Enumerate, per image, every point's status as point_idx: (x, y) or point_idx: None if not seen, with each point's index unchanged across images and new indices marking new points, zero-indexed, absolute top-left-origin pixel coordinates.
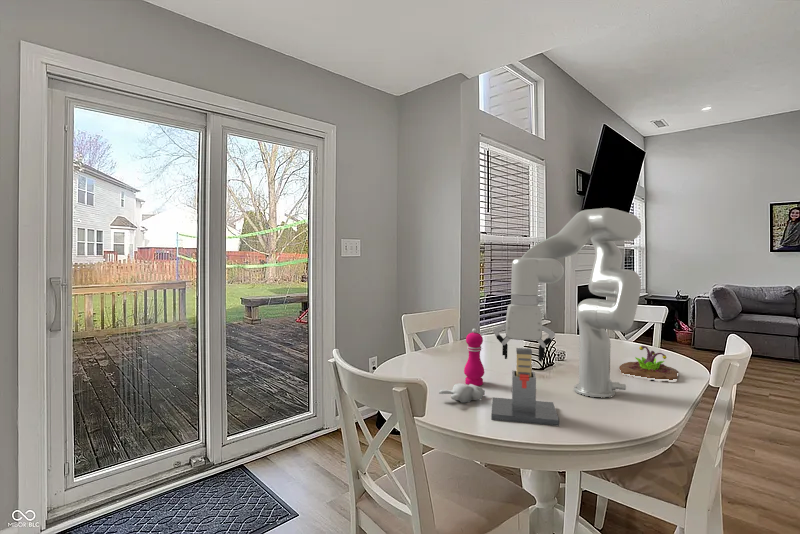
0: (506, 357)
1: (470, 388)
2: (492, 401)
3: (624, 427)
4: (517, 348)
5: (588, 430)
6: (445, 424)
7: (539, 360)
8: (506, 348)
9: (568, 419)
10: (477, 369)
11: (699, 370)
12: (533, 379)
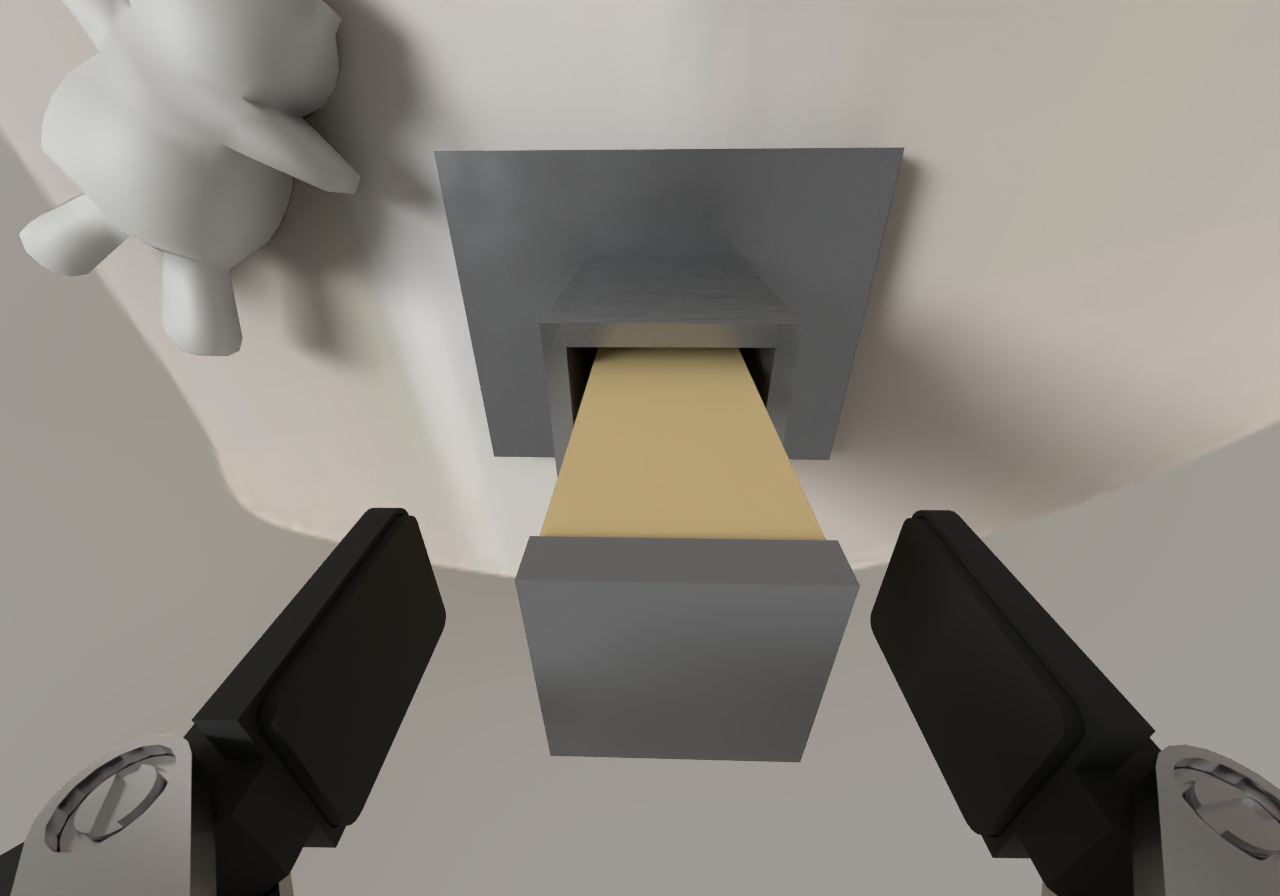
0: (431, 638)
1: (219, 181)
2: (455, 254)
3: (1166, 392)
4: (545, 621)
5: (944, 461)
6: (332, 523)
7: (873, 630)
8: (361, 782)
9: (905, 351)
10: None
11: None
12: None
